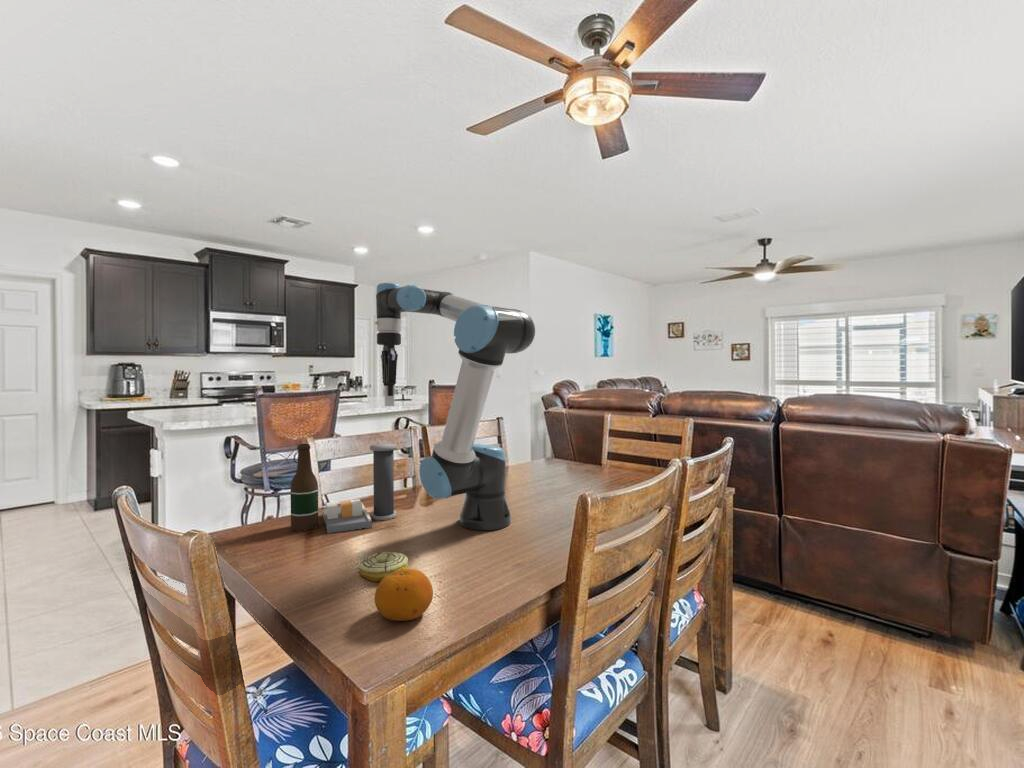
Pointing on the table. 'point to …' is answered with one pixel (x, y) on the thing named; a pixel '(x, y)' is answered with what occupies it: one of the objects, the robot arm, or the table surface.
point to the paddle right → (356, 507)
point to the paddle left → (332, 510)
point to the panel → (347, 521)
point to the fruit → (403, 595)
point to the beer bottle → (304, 493)
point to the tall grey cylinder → (383, 481)
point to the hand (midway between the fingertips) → (389, 405)
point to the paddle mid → (346, 508)
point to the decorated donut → (382, 565)
